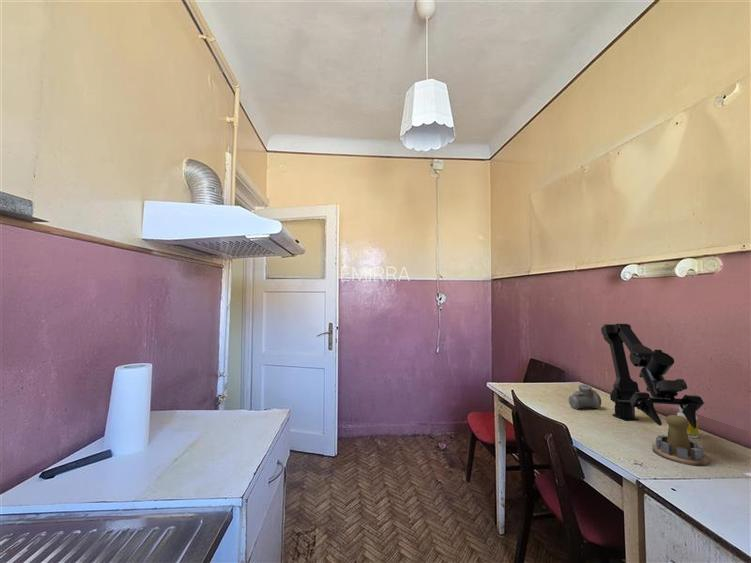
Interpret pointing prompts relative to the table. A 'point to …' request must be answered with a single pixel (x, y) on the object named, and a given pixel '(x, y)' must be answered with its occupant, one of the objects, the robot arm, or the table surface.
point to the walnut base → (679, 460)
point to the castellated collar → (680, 449)
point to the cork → (678, 433)
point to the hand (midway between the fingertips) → (677, 426)
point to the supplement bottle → (690, 430)
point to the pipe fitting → (585, 398)
